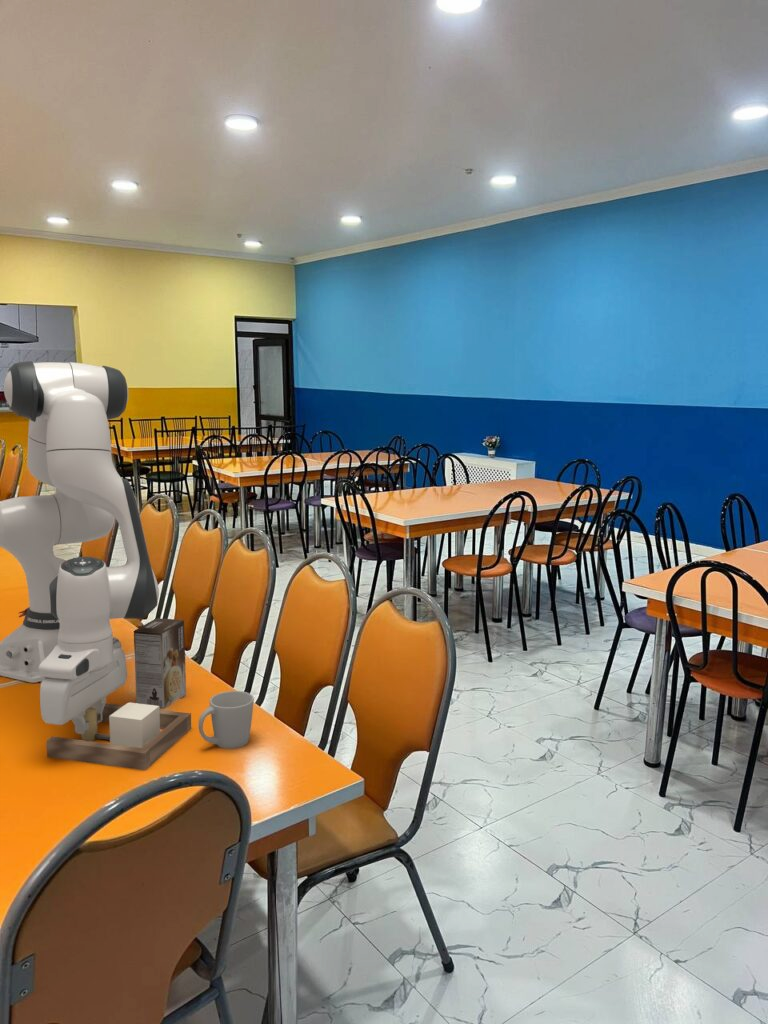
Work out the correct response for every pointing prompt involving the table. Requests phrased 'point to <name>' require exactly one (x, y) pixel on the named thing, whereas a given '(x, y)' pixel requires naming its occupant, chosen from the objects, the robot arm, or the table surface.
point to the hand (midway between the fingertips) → (89, 727)
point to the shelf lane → (120, 755)
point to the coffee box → (160, 662)
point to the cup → (229, 719)
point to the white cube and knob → (126, 725)
